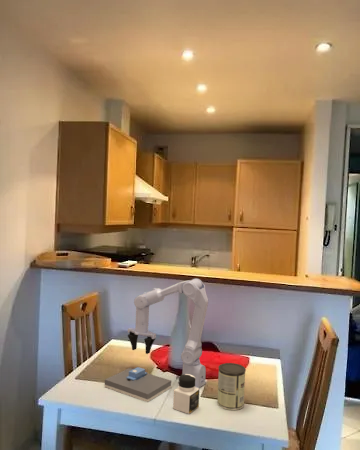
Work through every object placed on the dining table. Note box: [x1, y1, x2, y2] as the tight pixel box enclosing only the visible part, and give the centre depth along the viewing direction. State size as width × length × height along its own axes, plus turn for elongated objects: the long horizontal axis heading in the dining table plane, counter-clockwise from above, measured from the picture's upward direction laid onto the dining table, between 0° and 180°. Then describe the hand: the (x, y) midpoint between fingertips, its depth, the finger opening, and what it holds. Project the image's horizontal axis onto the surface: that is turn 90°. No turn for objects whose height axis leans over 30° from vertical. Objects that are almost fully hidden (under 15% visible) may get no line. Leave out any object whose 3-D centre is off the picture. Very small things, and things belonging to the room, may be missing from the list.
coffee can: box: [217, 362, 247, 411], centre depth 157 cm, size 10×10×14 cm
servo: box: [126, 366, 148, 381], centre depth 173 cm, size 4×10×5 cm, turn 148°
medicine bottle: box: [172, 374, 200, 415], centre depth 153 cm, size 7×7×12 cm
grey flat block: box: [104, 367, 172, 403], centre depth 169 cm, size 22×16×3 cm
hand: (140, 351), depth 184 cm, fingers open, 7 cm apart
